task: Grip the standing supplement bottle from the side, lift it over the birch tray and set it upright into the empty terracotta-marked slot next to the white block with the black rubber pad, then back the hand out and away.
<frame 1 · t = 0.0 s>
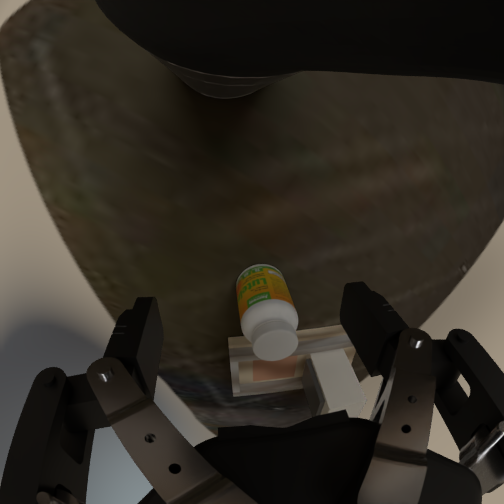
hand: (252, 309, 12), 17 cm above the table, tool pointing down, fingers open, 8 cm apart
white padded block: (329, 387, 34), in the birch tray, point 6 cm above the table
supplement bottle: (259, 282, 32), on the table
birch tray: (293, 355, 39), on the table
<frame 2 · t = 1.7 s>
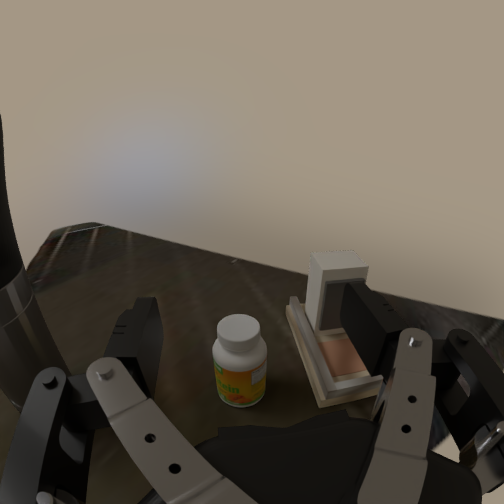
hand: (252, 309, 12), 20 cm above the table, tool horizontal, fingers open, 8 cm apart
white padded block: (334, 294, 36), in the birch tray, point 6 cm above the table
supplement bottle: (241, 391, 30), on the table
birch tray: (335, 348, 36), on the table
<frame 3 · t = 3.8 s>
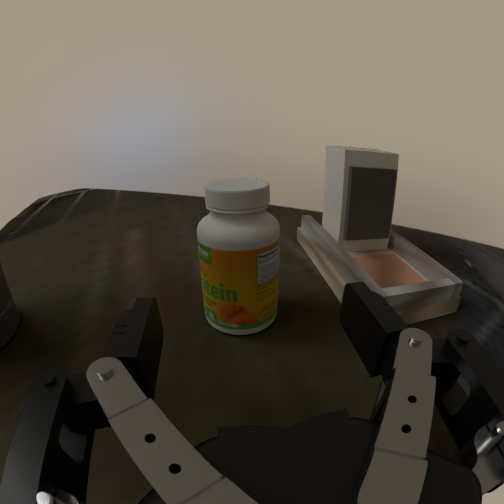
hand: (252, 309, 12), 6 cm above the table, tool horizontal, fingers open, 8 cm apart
white padded block: (360, 197, 28), in the birch tray, point 6 cm above the table
supplement bottle: (241, 316, 22), on the table
birch tray: (366, 269, 27), on the table
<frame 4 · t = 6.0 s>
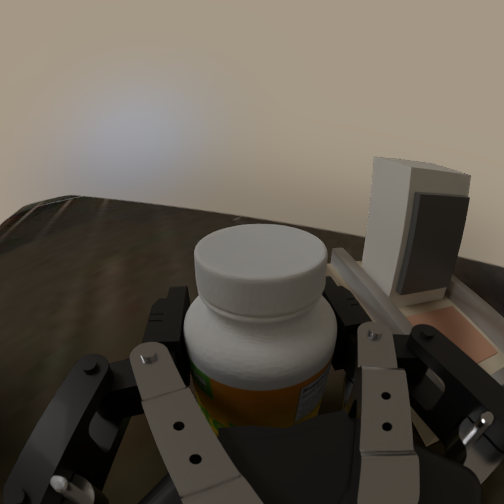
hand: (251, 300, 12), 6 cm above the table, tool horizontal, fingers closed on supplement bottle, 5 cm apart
white padded block: (416, 232, 19), in the birch tray, point 6 cm above the table
supplement bottle: (258, 426, 13), on the table, touching gripper
birch tray: (420, 329, 18), on the table
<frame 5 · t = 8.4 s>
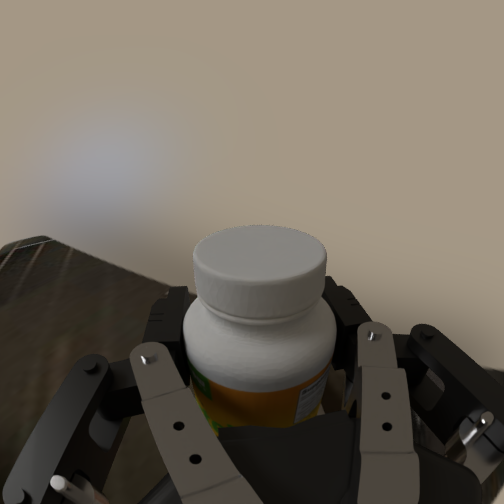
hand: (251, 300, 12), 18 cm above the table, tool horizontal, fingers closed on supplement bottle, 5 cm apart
supplement bottle: (258, 427, 13), point 11 cm above the table, touching gripper
when the fingers open (9 cm above the table, at t = 11.1 s): supplement bottle drops 1 cm, resting on birch tray.
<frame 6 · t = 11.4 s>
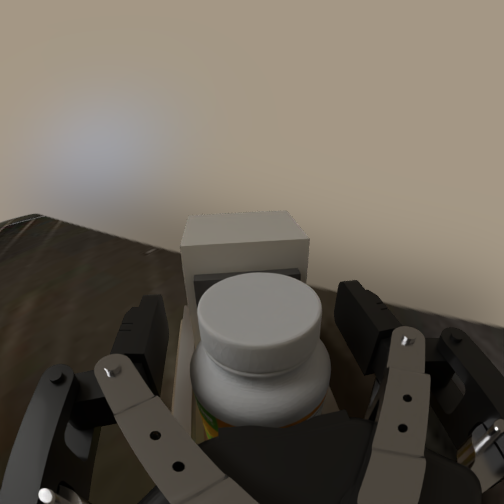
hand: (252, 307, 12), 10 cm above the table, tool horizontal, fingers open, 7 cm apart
white padded block: (244, 307, 17), in the birch tray, point 6 cm above the table
supplement bottle: (260, 444, 13), point 1 cm above the table, touching birch tray
birch tray: (252, 413, 17), on the table
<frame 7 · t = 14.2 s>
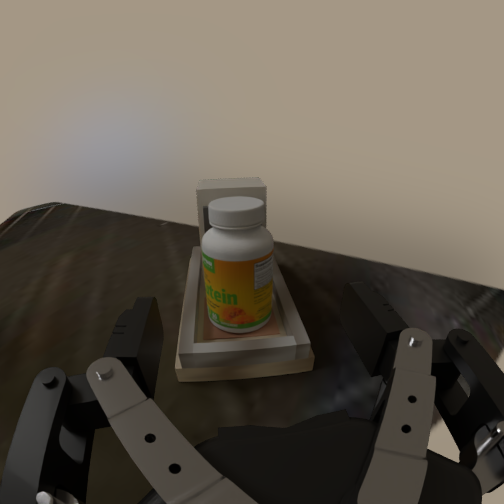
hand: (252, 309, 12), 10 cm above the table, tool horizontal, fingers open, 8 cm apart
white padded block: (232, 233, 28), in the birch tray, point 6 cm above the table
supplement bottle: (240, 317, 24), point 1 cm above the table, touching birch tray
birch tray: (236, 309, 28), on the table
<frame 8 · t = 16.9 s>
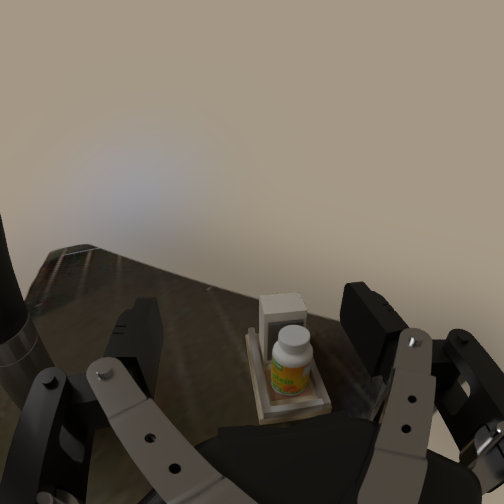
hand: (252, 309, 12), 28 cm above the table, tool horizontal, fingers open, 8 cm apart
white padded block: (281, 330, 43), in the birch tray, point 6 cm above the table
supplement bottle: (288, 383, 39), point 1 cm above the table, touching birch tray
birch tray: (283, 374, 42), on the table
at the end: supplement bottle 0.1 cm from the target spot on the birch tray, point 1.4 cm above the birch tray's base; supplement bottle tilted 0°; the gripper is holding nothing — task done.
